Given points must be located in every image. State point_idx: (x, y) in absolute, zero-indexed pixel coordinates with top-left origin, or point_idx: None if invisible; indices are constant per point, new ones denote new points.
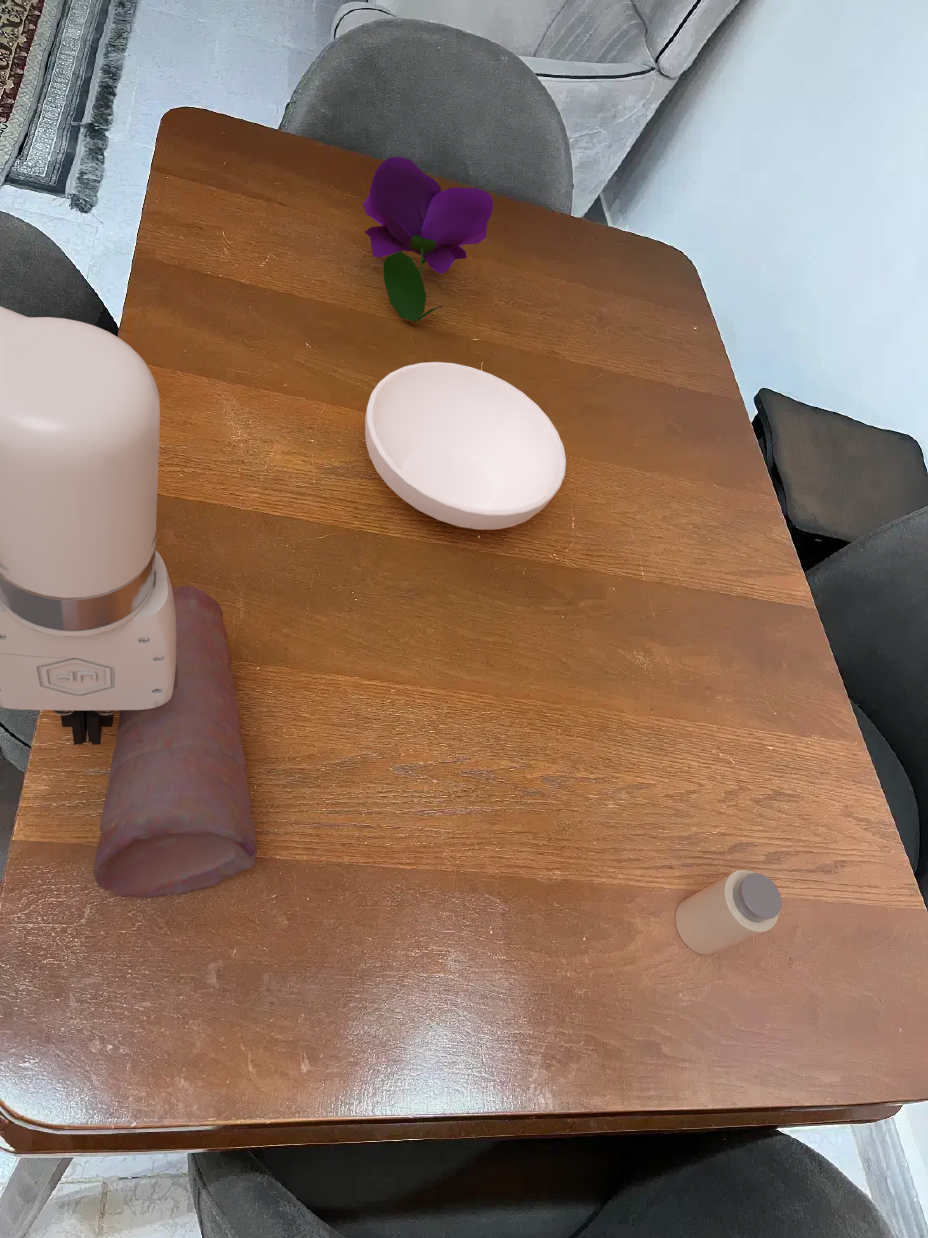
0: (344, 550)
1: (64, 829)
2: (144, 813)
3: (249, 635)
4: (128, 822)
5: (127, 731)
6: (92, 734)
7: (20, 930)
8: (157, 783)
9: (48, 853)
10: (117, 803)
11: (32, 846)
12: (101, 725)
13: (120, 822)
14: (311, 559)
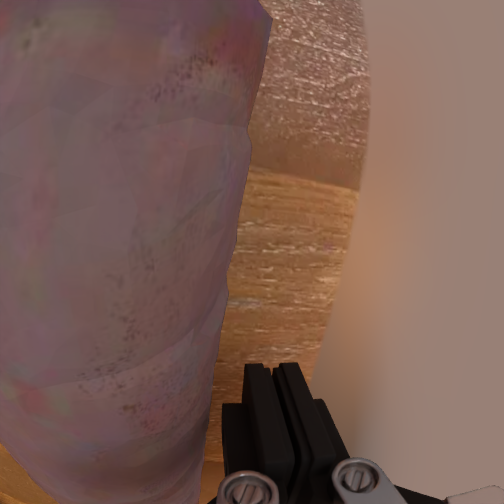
0: (18, 491)
1: (298, 201)
2: (49, 58)
3: None
4: (141, 35)
5: (182, 418)
6: (268, 397)
7: (356, 51)
8: (6, 238)
9: (323, 161)
10: (196, 173)
11: (346, 178)
12: (246, 410)
13: (182, 61)
14: (40, 494)
